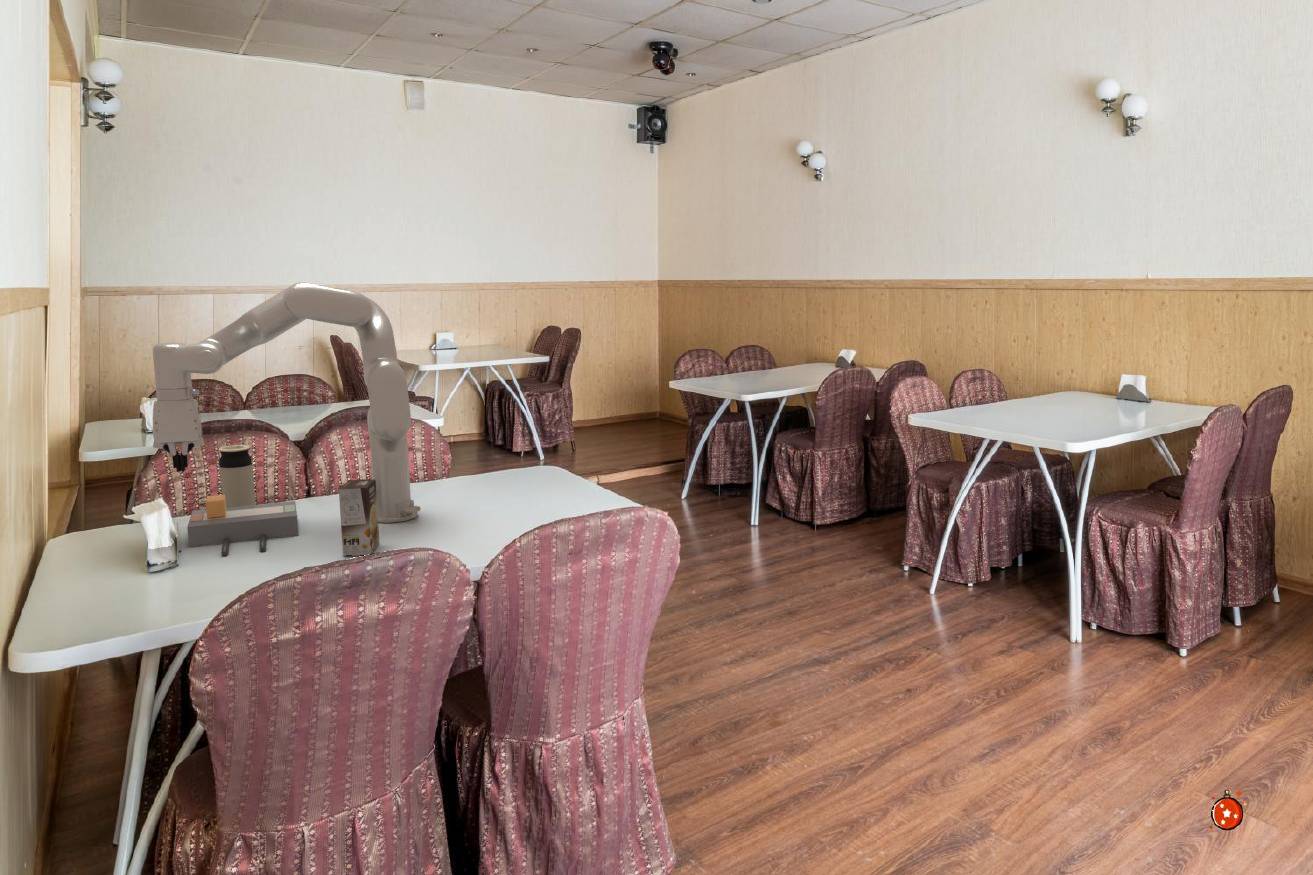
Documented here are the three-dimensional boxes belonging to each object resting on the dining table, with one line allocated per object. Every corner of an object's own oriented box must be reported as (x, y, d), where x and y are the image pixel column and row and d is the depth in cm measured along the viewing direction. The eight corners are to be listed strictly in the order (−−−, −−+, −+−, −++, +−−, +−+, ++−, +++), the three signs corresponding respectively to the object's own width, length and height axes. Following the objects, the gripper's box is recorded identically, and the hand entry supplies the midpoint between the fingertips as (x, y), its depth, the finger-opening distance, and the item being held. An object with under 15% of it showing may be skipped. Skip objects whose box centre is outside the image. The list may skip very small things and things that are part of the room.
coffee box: (371, 556, 201) (366, 487, 198) (342, 556, 200) (337, 488, 197) (380, 544, 210) (376, 478, 207) (352, 544, 209) (348, 479, 206)
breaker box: (296, 519, 231) (295, 500, 231) (300, 547, 207) (298, 526, 206) (194, 529, 222) (192, 510, 221) (185, 561, 197) (182, 539, 196)
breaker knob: (226, 510, 220) (225, 494, 219) (225, 516, 214) (223, 500, 214) (208, 511, 218) (207, 496, 217) (207, 517, 213) (205, 501, 212)
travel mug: (240, 517, 234) (234, 451, 231) (217, 514, 236) (210, 449, 233) (262, 509, 241) (257, 445, 238) (239, 507, 244) (233, 443, 240)
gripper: (210, 392, 215) (216, 465, 218) (140, 394, 209) (147, 470, 212) (208, 395, 208) (214, 471, 211) (136, 398, 202) (143, 476, 205)
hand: (181, 470), depth 211 cm, fingers closed
